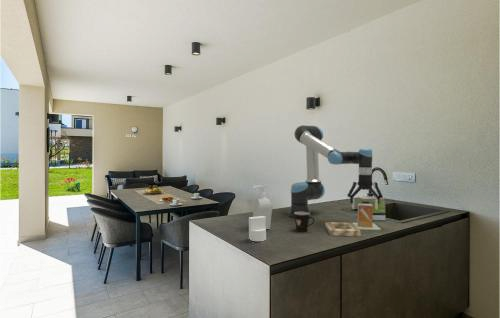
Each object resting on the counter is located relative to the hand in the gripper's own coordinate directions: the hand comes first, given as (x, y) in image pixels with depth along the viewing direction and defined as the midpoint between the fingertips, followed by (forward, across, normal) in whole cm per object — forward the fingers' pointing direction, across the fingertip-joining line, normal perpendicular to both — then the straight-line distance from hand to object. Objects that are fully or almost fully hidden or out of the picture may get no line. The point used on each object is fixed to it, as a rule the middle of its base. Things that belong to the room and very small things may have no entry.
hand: (364, 209), depth 173 cm
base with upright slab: (+11, -63, -32) cm, 71 cm away
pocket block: (+11, -16, -12) cm, 23 cm away
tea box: (+11, +10, +21) cm, 26 cm away
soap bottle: (+12, -63, -10) cm, 65 cm away
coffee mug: (+11, -38, -13) cm, 42 cm away
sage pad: (+11, 0, 0) cm, 11 cm away
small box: (+10, 0, 0) cm, 10 cm away
